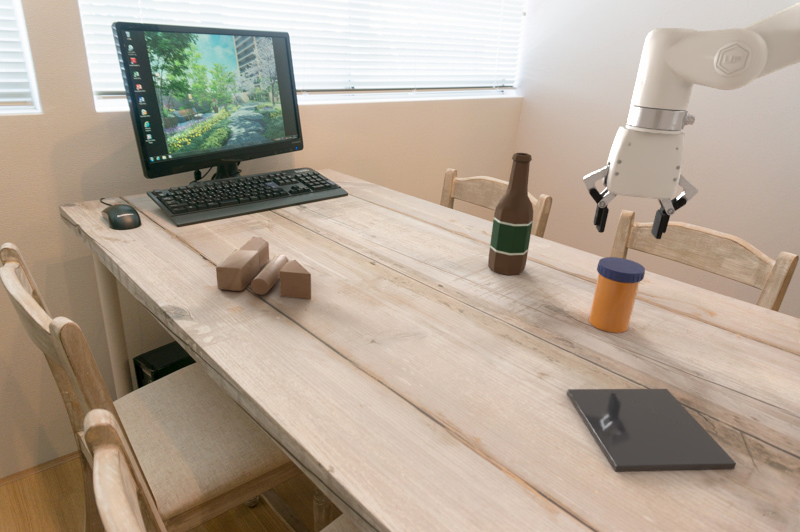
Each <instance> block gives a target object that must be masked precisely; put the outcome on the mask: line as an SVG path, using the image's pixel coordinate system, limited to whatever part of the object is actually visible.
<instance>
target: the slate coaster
mask: <svg viewBox="0 0 800 532" xmlns="http://www.w3.org/2000/svg"><path fill="white" fill-rule="evenodd" d="M566 390H567V391H566V396H568V398H569V400H570V402H571V403H572V405H573V407H574V408H575V410H576V411H577V413H578V415H579V416H580V418H581V419H582V421H583V422H584V424H585V426H586V427H587V429H588V430H589V432H590V434H591V435H592V437H593V438H594V440H595V442H596V443H597V445H598V447H599V448H600V450H601V451H602V453H603V454H604V456H605V458H606V460H607V461H608V463H609V464H610V466H611V468H612V469H613V470H614V472H646V471H647V472H648V471H649V472H651V471H652V472H653V471H654V472H655V471H693V470H694V471H695V470H696V471H697V470H699V471H700V470H734V469H735V468H736V465H737V463H736V461H735V460H734V459H733V458H732V457H731V456H730V455H729V453H727V451H726V450H725V449H723V447H722V446H721V445H720V444H719V443H718V442H717V441H716V440H715V438H713V436H712V435H711V434H710V433H709V432H708V431H707V430H706V429H705V428H704V427H703V426H702V425H701V424H700V423H699V421H698V420H696V418H694V416H693V415H692V414H691V413H690V412H689V411H688V410H687V409H686V408H685V407H684V405H683V404H682V403H681V402H680V401H679V400H678V399H677V398H676V397H675V396H674V395H673V394H672V392H671V391H670V390H669V389H668V388H582V389H581V388H577V389H576V388H571V389H570V388H569V389H566Z"/></svg>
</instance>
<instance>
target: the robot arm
mask: <svg viewBox="0 0 800 532" xmlns="http://www.w3.org/2000/svg"><path fill="white" fill-rule="evenodd" d="M799 63H800V1H799V2H797V3H794V4H792V5H790V6H788V7H786V8H784V9H782V10H779V11H778V12H775V13H772V14H770V15H768V16H766V17H765V18H763V19H760V20H757V21H755V22H753V23H751V24H749V25H746V26H744V27H742V28H736V27H735V28H725V29H715V30H700V31H699V30H697V29H693V28H684V27H683V28H682V27H659V28H655V29H652V30H651V31H649V32H648V34H647V35H646V37H645V39H644V44H643V47H642V53H641V56H640V61H639V66H638V70H637V73H636V79H635V83H634V84H635V85H634V88H633V91H632V92H633V93H632V97H631V101H630V106H629V110H628V114H627V120H626V123H625V125H620V126H619V128H618V129H617V132H616V134H615V137H614V139H613V142H612V145H611V148H610V151H609V154H608V158H607V162H606V164H605V165H604V166H602V167H600V168H598V169H596V170H594V171H592V172H590V173H588V174H587V175H584V176H583V177H582V181H583V183H584V186H585V188H586V190H587V192H588V194H589V195H590V196H591V198H592V200H594V202H595V203H596V209H595V214H594V219H593V225H594V226H595V228H596V230H597V232H598V233H601V234H602V233H604V232H605V230H606V229H605V228H606V226H607V225H606V224H607V220H608V216H609V213H610V212H609V211H610V210H609V209H610V208H609V207H608V205H609V204H610V203H611V201H613V200H614V199H615V198H616V197H617V196H621V197H622V196H623V197H630V198H631V197H633V198H639V199H640V198H641V199H651V200H657V201H658V203H659V206H660V207H659V209H657V210H656V212H655V215H654V219H653V223H652V227H651V231H650V233H651V235H652V236H653V237H654V238H655V239H656V240H661V239H662V238H663V237H662V236H663V234H665V233H666V232H667V229H668V226H669V222H670V218H671V216H673V215H674V214H675V213H676V211H678V210H680V209H681V208H682V207H684V206H685V205H686V204H687V203H688V202H689V201H690V200H691V199H693V198H694V197H695V196H696V195H697V194H698V192H699V189H698V188H697V187H696V186H695V185H694V184H692V183H691V182H690V181H689V180H688V179H687V178H686V177H685V176H683V175H682V174H681V173H682V168H683V162H684V154H685V143H686V141H685V140H686V133H684V132H682V130H684V127H685V126H688V125H690V126H692V125H694V123H695V120H696V116H695V115H693V114H689V113H688V112H689V111H688V106H689V104H690V99H691V95H692V91H693V88H694V85H698V86H703V87H707V88H712V89H716V90H722V91H732V90H737V89H740V88H743V87H745V86H747V85H749V84H750V83H752V82H753V81H755V80H757V79H760V78H762V77H765V76H767V75H770V74H772V73H775V72H777V71H780V70H783V69H786V68H787V67H790V66H793V65H796V64H799ZM601 179H602V185H603V186H604V187H605V188H604V189H603V190H602V191H601V192H599V190H598V189H597V187H596V184H595V183H596V182H597V181H599V180H601ZM678 186H680V187H681V189H682V192H681V193H680V194H679V195H677V196H675V195H676V193H677V190H678ZM674 196H675V197H674Z"/></svg>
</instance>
